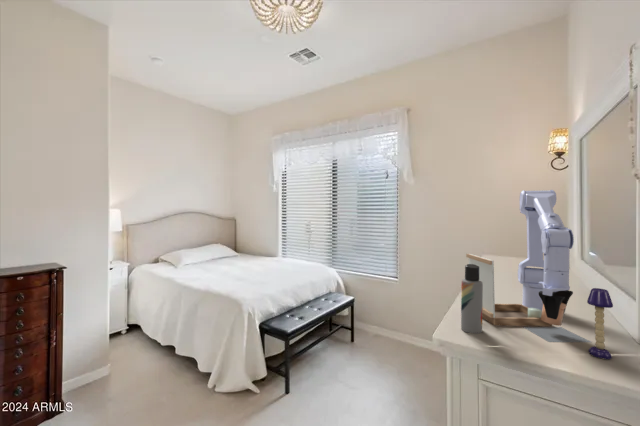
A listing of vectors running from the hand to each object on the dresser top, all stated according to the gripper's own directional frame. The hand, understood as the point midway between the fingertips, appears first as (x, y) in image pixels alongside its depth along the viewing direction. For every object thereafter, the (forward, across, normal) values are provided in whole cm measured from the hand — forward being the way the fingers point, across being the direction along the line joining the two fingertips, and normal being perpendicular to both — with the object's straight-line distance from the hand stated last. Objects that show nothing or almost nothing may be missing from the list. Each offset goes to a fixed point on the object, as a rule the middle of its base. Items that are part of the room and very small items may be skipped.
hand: (555, 316), depth 82 cm
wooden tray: (+6, -3, -14) cm, 15 cm away
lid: (-6, +4, -19) cm, 20 cm away
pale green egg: (+5, -6, -7) cm, 11 cm away
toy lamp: (+6, +5, +10) cm, 13 cm away
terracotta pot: (+2, 0, -1) cm, 2 cm away
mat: (+6, 0, 0) cm, 6 cm away
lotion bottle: (+6, +17, -16) cm, 24 cm away
